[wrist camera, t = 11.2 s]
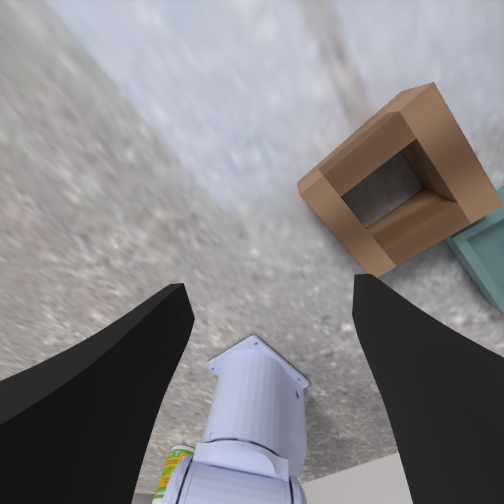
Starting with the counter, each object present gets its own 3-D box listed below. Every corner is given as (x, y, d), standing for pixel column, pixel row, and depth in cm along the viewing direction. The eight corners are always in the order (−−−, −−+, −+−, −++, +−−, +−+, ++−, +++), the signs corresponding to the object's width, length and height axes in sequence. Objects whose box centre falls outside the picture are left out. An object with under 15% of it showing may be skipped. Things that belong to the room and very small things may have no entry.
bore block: (462, 189, 17) (504, 204, 13) (359, 255, 20) (373, 280, 17) (401, 91, 15) (433, 82, 11) (297, 182, 18) (299, 195, 15)
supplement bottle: (180, 440, 38) (150, 530, 30) (208, 454, 39) (187, 545, 31) (166, 450, 40) (134, 537, 32) (193, 463, 41) (169, 551, 33)
